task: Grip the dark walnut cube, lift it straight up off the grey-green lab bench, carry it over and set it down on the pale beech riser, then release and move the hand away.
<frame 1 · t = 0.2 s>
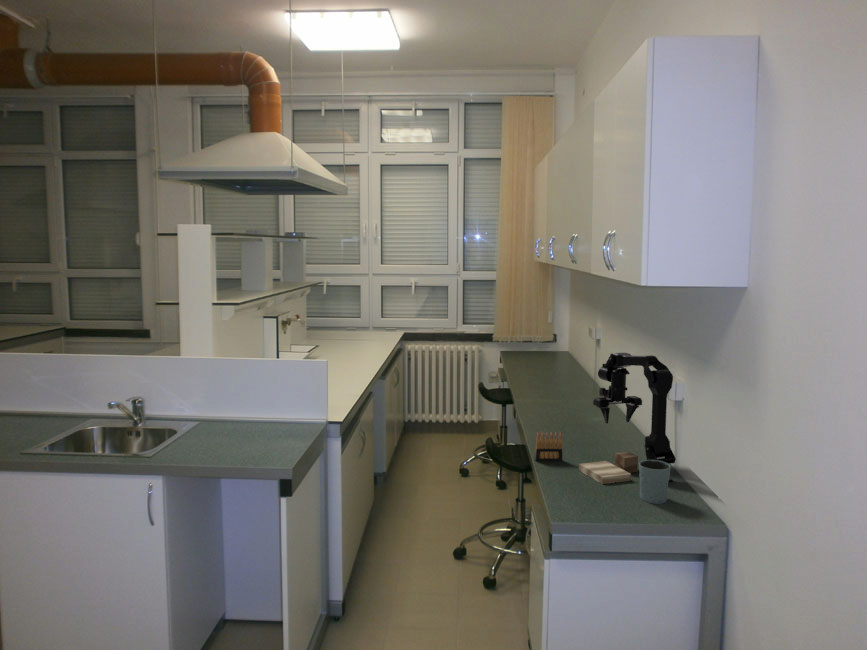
hand: (617, 422, 270), 14 cm above the table, tool pointing down, fingers open, 9 cm apart
walnut cube: (625, 470, 256), on the table
beech riser: (604, 475, 250), on the table
ammunition clip: (548, 461, 267), on the table
grey-blue cup: (653, 499, 226), on the table
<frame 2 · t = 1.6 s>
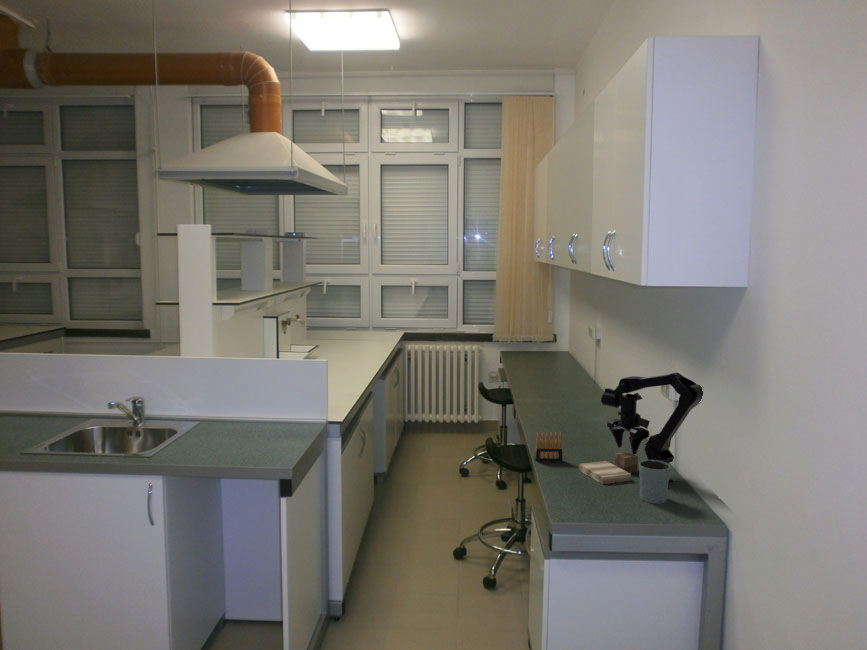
hand: (626, 450, 255), 7 cm above the table, tool pointing down, fingers open, 9 cm apart
nothing on the table moved.
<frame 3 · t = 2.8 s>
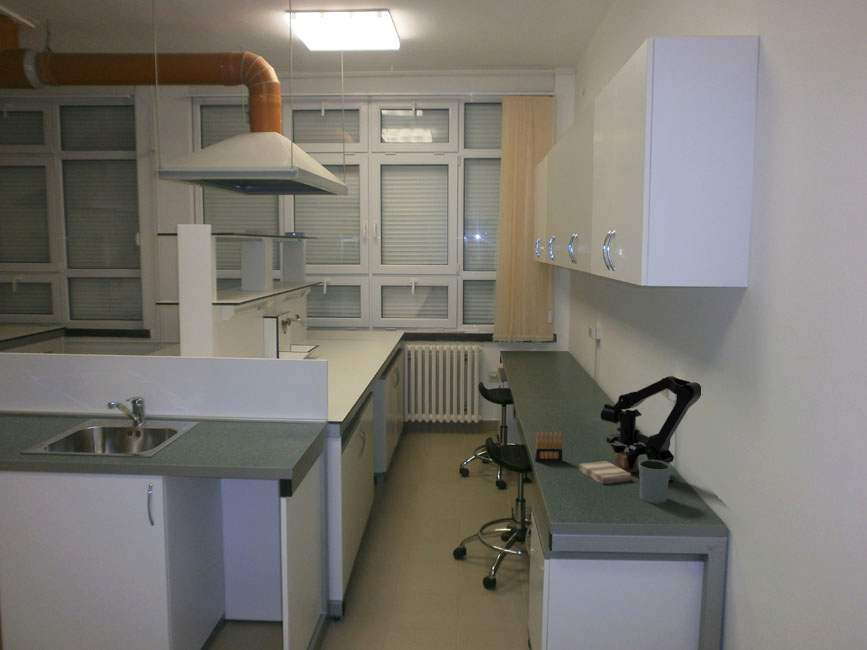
hand: (626, 466, 256), 1 cm above the table, tool pointing down, fingers closed on walnut cube, 6 cm apart
walnut cube: (625, 469, 256), on the table, touching gripper
everything else where it was.
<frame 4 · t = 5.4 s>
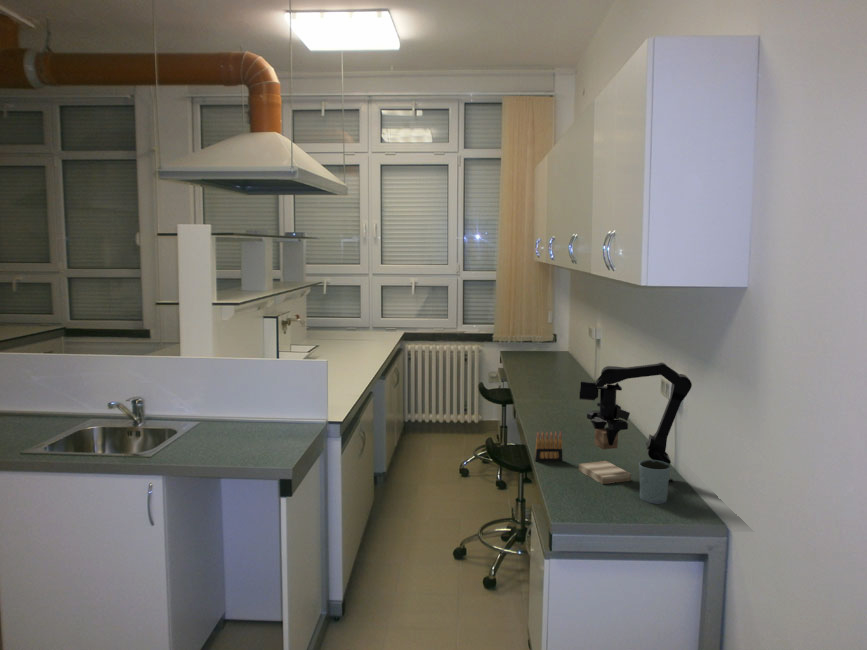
hand: (605, 442, 249), 12 cm above the table, tool pointing down, fingers closed on walnut cube, 6 cm apart
walnut cube: (605, 446, 249), point 11 cm above the table, touching gripper
everything else where it was.
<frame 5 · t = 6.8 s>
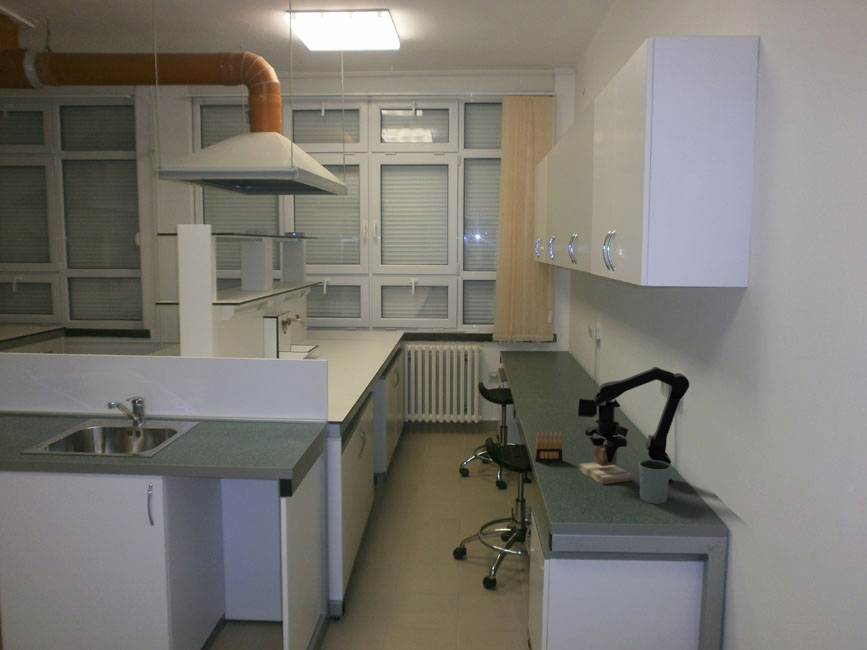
hand: (604, 459, 249), 6 cm above the table, tool pointing down, fingers closed on walnut cube, 6 cm apart
walnut cube: (604, 463, 249), point 5 cm above the table, touching gripper
everything else where it was.
when the fingers open (5 cm above the table, at t = 7.9 s): walnut cube drops 1 cm, resting on beech riser.
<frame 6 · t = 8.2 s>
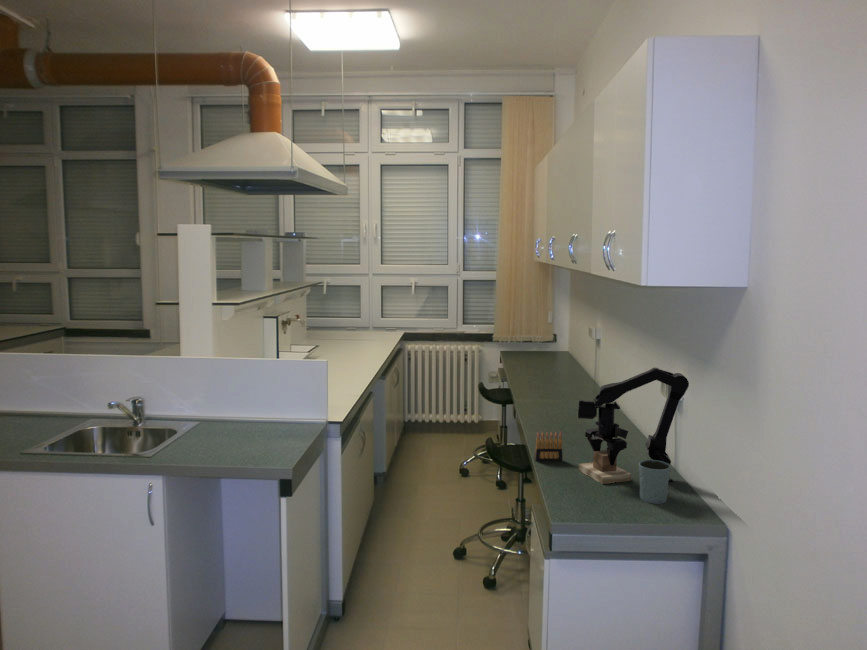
hand: (604, 461, 249), 5 cm above the table, tool pointing down, fingers open, 9 cm apart
walnut cube: (604, 468, 249), point 2 cm above the table, touching beech riser
everything else where it was.
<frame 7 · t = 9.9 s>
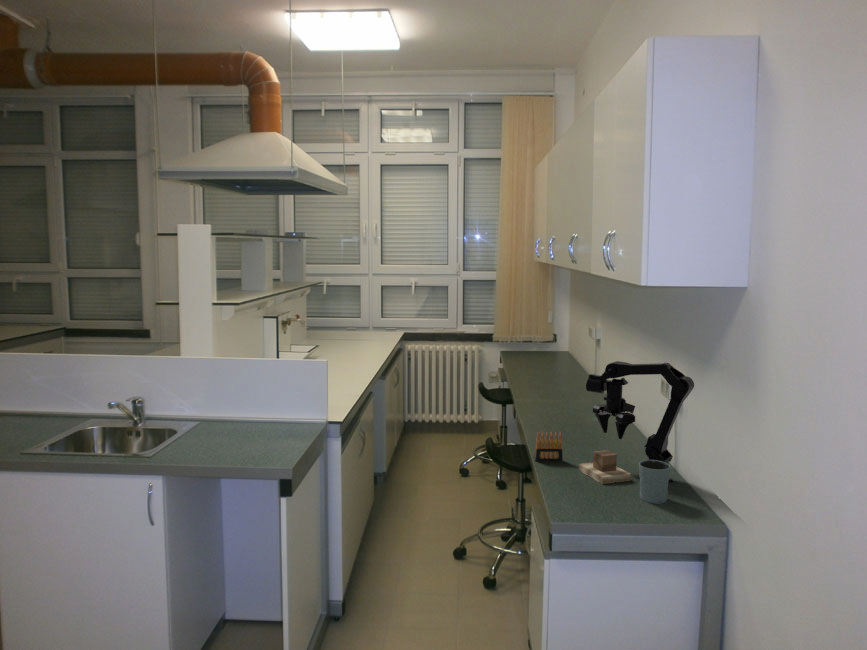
hand: (612, 435, 255), 13 cm above the table, tool pointing down, fingers open, 9 cm apart
nothing on the table moved.
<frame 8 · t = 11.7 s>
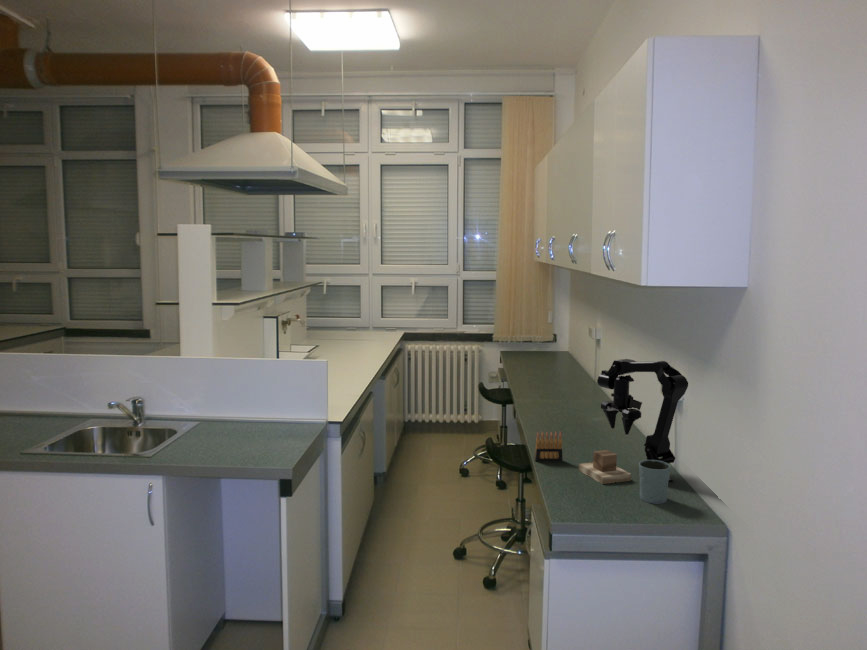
hand: (619, 431, 262), 13 cm above the table, tool pointing down, fingers open, 9 cm apart
nothing on the table moved.
at the end: walnut cube inside the target area on the beech riser (0.0 cm from its centre), point 2.5 cm above the beech riser's base; walnut cube tilted 0°; the gripper is holding nothing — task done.
